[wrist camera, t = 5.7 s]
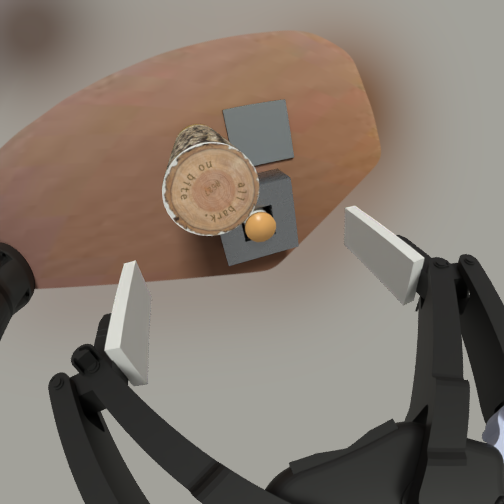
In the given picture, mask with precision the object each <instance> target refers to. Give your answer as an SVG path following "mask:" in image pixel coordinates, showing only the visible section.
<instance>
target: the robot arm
mask: <svg viewBox="0 0 504 504" xmlns="http://www.w3.org/2000/svg"><path fill="white" fill-rule="evenodd" d="M344 245H345V246H346V247H347V248H348V249H349V250H350V251H351V252H352V253H353V254H354V255H355V256H356V257H357V258H358V259H359V260H360V261H361V262H362V263H363V264H364V265H365V266H366V267H367V268H368V269H369V270H370V271H371V272H372V273H373V274H374V275H375V276H376V277H377V278H378V279H379V280H380V281H381V282H382V283H383V284H384V285H385V286H386V287H387V289H389V291H390V292H391V293H392V294H393V295H394V296H395V297H396V298H397V299H398V300H399V301H400V302H401V303H402V304H403V305H405V304H407V303H409V302H411V301H413V300H414V297H415V293H416V292H417V293H418V294H419V295H420V298H419V301H418V304H417V307H416V311H417V310H418V308H419V314H418V340H417V354H416V365H415V375H414V383H413V390H412V397H411V403H410V408H409V411H408V414H407V416H406V418H405V421H404V422H399V423H395V422H394V420H393V419H391V420H389V421H387V422H385V423H384V424H382V425H380V426H378V427H376V428H374V429H372V430H370V431H369V432H367V433H366V434H365V435H364V436H363V437H361V438H360V439H359V440H357V441H356V442H355V443H354V444H352V445H351V446H350V447H348V448H346V449H341V450H336V451H330V452H323V453H317V454H314V455H311V456H308V457H305V458H302V459H299V460H296V461H293V462H290V463H289V465H290V467H289V468H287V469H285V470H284V471H282V472H281V473H280V474H278V475H277V476H276V477H275V478H274V479H273V480H272V481H271V482H270V483H269V485H268V486H267V488H266V489H265V490H264V489H262V488H260V487H258V486H256V485H255V484H253V483H251V482H250V481H248V480H246V479H244V478H243V477H241V476H240V475H238V474H236V473H234V472H233V471H232V470H230V469H228V468H227V467H225V466H224V465H222V464H221V463H219V462H217V461H216V460H214V459H213V458H211V457H210V456H209V455H207V454H206V453H205V452H203V451H202V450H200V449H199V448H198V447H196V446H195V445H194V444H193V443H191V442H190V441H188V440H187V439H186V438H185V437H184V436H182V435H181V434H180V433H179V432H178V431H176V430H175V429H174V428H173V427H171V426H170V425H169V424H168V423H167V422H166V421H165V420H163V419H162V418H161V417H160V416H159V415H158V414H157V413H156V412H154V411H153V410H152V409H151V408H150V407H149V406H148V405H147V404H146V403H145V402H144V401H143V400H142V399H141V398H140V397H139V396H138V395H137V394H136V393H135V392H134V391H133V390H132V389H131V388H130V387H129V386H128V380H129V381H130V383H131V384H132V385H133V386H139V385H145V384H148V351H149V350H148V349H149V328H150V327H149V326H150V312H151V299H152V296H151V294H150V292H149V289H148V287H147V285H146V283H145V280H144V278H143V276H142V274H141V271H140V269H139V267H138V265H137V262H136V261H132V262H128V263H125V264H124V267H123V270H122V274H121V277H120V281H119V285H118V289H117V293H116V297H115V301H114V306H113V310H112V313H110V314H106V315H104V316H103V318H102V319H101V321H100V322H99V326H98V331H97V335H96V339H95V344H94V346H93V345H91V344H84V345H81V346H80V347H79V348H77V349H76V350H75V351H74V353H73V355H72V358H71V362H72V365H73V366H74V367H75V368H76V369H77V371H78V372H79V374H77V375H74V376H72V377H69V376H68V375H67V374H65V373H58V374H56V375H54V376H53V377H52V379H51V380H50V382H49V387H48V390H49V395H50V400H51V405H52V409H53V413H54V418H55V422H56V426H57V429H58V433H59V436H60V440H61V443H62V446H63V449H64V453H65V455H66V458H67V461H68V464H69V467H70V469H71V472H72V475H73V477H74V480H75V482H76V484H77V487H78V489H79V491H80V494H81V496H82V498H83V500H84V502H85V504H150V503H149V502H148V500H147V499H146V497H145V495H144V494H143V492H142V491H141V489H140V488H139V486H138V485H137V483H136V481H135V479H134V478H133V476H132V474H131V473H130V471H129V469H128V468H127V465H126V464H125V462H124V460H123V458H122V456H121V454H120V452H119V450H118V448H117V446H116V444H115V442H114V440H113V438H112V436H111V434H110V432H109V430H108V427H107V425H106V423H105V421H104V418H103V416H102V413H101V411H102V410H104V409H106V408H107V409H108V411H109V412H110V413H111V414H112V416H113V417H114V418H115V419H116V420H117V422H118V423H119V424H120V425H121V426H122V427H123V428H124V430H125V431H126V432H127V433H128V434H129V435H130V436H131V437H132V438H133V439H134V440H135V441H136V442H137V443H138V444H139V446H140V447H141V448H142V449H143V450H144V451H145V452H146V453H147V454H148V455H149V456H150V457H151V458H152V459H153V460H155V461H156V462H157V463H158V464H159V465H160V466H161V467H162V468H163V469H164V470H166V471H167V472H168V473H169V474H170V475H171V476H172V477H173V478H175V479H176V480H177V481H178V482H179V483H181V484H182V485H183V486H184V487H185V488H187V489H188V490H189V491H190V492H191V494H192V495H193V496H194V497H195V498H196V499H197V500H198V501H200V502H201V503H202V504H504V305H503V303H502V301H501V299H500V297H499V295H498V294H497V292H496V290H495V288H494V286H493V285H492V283H491V281H490V279H489V278H488V276H487V274H486V273H485V271H484V269H483V268H482V266H481V265H480V263H479V262H478V260H477V259H476V258H474V257H473V256H471V255H467V254H464V255H461V256H460V258H459V261H458V263H453V264H450V263H449V262H448V261H447V260H445V259H443V258H439V257H435V258H431V257H430V256H429V255H427V254H426V253H425V252H424V251H422V250H421V249H420V248H418V247H416V245H415V244H413V243H412V242H411V241H409V240H408V239H407V238H405V237H402V236H400V235H395V234H393V233H392V232H391V231H389V230H388V229H387V228H385V227H384V226H383V225H381V224H380V223H379V222H377V221H376V220H374V219H373V218H372V217H370V216H369V215H367V214H366V213H365V212H363V211H362V210H360V209H359V208H357V207H356V206H351V207H346V208H345V234H344ZM34 288H35V283H34V277H33V274H32V271H31V269H30V267H29V265H28V263H27V262H26V260H25V259H24V257H23V256H22V255H21V254H20V253H19V252H18V251H17V250H16V249H14V248H13V247H12V246H10V245H8V244H5V243H0V340H1V338H2V335H3V334H4V331H5V329H6V327H7V325H8V323H9V321H10V319H11V317H12V315H13V314H15V313H16V312H17V311H18V310H20V309H21V308H22V307H24V306H25V305H26V304H27V303H28V302H29V300H30V298H31V297H32V295H33V293H34ZM469 292H470V295H469ZM461 335H462V337H461ZM462 338H463V341H464V344H465V347H466V350H467V353H468V357H469V361H470V364H471V368H472V372H473V376H474V380H475V383H476V388H477V393H478V397H479V402H480V407H481V411H482V414H483V417H484V420H485V423H486V428H485V431H484V432H483V434H482V439H483V441H485V442H487V443H483V442H479V441H475V440H472V439H468V438H467V431H468V419H469V399H470V385H469V382H468V380H464V379H463V355H462V354H463V353H462Z"/></svg>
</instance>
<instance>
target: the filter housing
mask: <svg viewBox="0 0 504 504" xmlns="http://www.w3.org/2000/svg"><path fill="white" fill-rule="evenodd" d="M257 175H258V179H259V196H258V200H257V203H256V206H255V208H254V209H257V208H261V207H264V210H265V211H266V213H268V214H270V215H271V216H272V217H273V219H274V220H275V222H276V230H275V233H274V234H273V236H272V237H271V238H270V239H268V240H266V241H264V242H255V241H252V240H251V239H250V238H249V237H248V236H247V234H246V232H245V225H242V224H241V225H240V226H238V227H237V228H235V229H233V230H231V231H229V232H227V233H224V234H220V237H221V240H222V244H223V248H224V251H225V255H226V258H227V261H228V265H229V266H231V265H235V264H238V263H242V262H245V261H249V260H252V259H256V258H259V257H263V256H266V255H270V254H273V253H277V252H280V251H284V250H287V249H291V248H294V247H297V246H298V236H297V227H296V218H295V210H294V202H293V194H292V186H291V179H290V177H289V176H287V175H286V174H284V173H283V172H282V171H280V170H279V169H274V170H270V171H265V172H261V173H257Z"/></svg>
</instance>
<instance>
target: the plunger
mask: <svg viewBox="0 0 504 504" xmlns="http://www.w3.org/2000/svg"><path fill="white" fill-rule="evenodd" d="M243 223H244V225H245V232H246V234H247V236H248V237H249V238H250V239H251V240H252V241H255V242H264V241H266V240H268V239H270V238H271V237H272V236H273V234H274V233H275V230H276V222H275V220H274V219H273V217H272V216H271V215H270V214H268V213H266V211H265V210H264V209H263V207H261V208H257V209H254V210H253V211H252V213H251V214H250V216H249V217H248V218H247V219H246V220H245V221H244V222H243Z"/></svg>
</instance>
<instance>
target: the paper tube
mask: <svg viewBox="0 0 504 504" xmlns="http://www.w3.org/2000/svg"><path fill="white" fill-rule="evenodd" d="M162 196H163V202H164V205H165V208H166V210H167V212H168V214H169V216H170V217H171V218H172V220H173V221H174V222H175V223H176V224H177V225H179V226H180V227H181V228H183V229H184V230H186V231H188V232H191V233H194V234H197V235H203V236H214V235H220V234H224V233H227V232H229V231H231V230H233V229H235V228H237V227H238V226H240V225H241V224H242V223H243V222H244V221H245V220H246V219H247V218H248V217H249V216H250V214H251V213H252V211H253V210H254V208H255V206H256V203H257V200H258V196H259V179H258V175H257V172H256V169H255V167H254V166H253V164H252V163H251V161H250V160H249V159H248V157H247V156H246V155H245V154H244V153H243V152H241V151H240V150H239V149H237V148H236V147H235V146H234V145H232V144H231V143H230V142H229V141H227V140H226V139H225V138H223V137H222V136H221V135H219V134H218V133H217V132H215V131H214V130H212V129H211V128H210V127H208V126H206V125H202V124H194V125H190V126H188V127H186V128H184V129H183V130H182V131H181V132H180V133H179V135H178V136H177V138H176V141H175V144H174V147H173V150H172V153H171V156H170V159H169V163H168V166H167V169H166V173H165V176H164V180H163V187H162Z"/></svg>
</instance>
